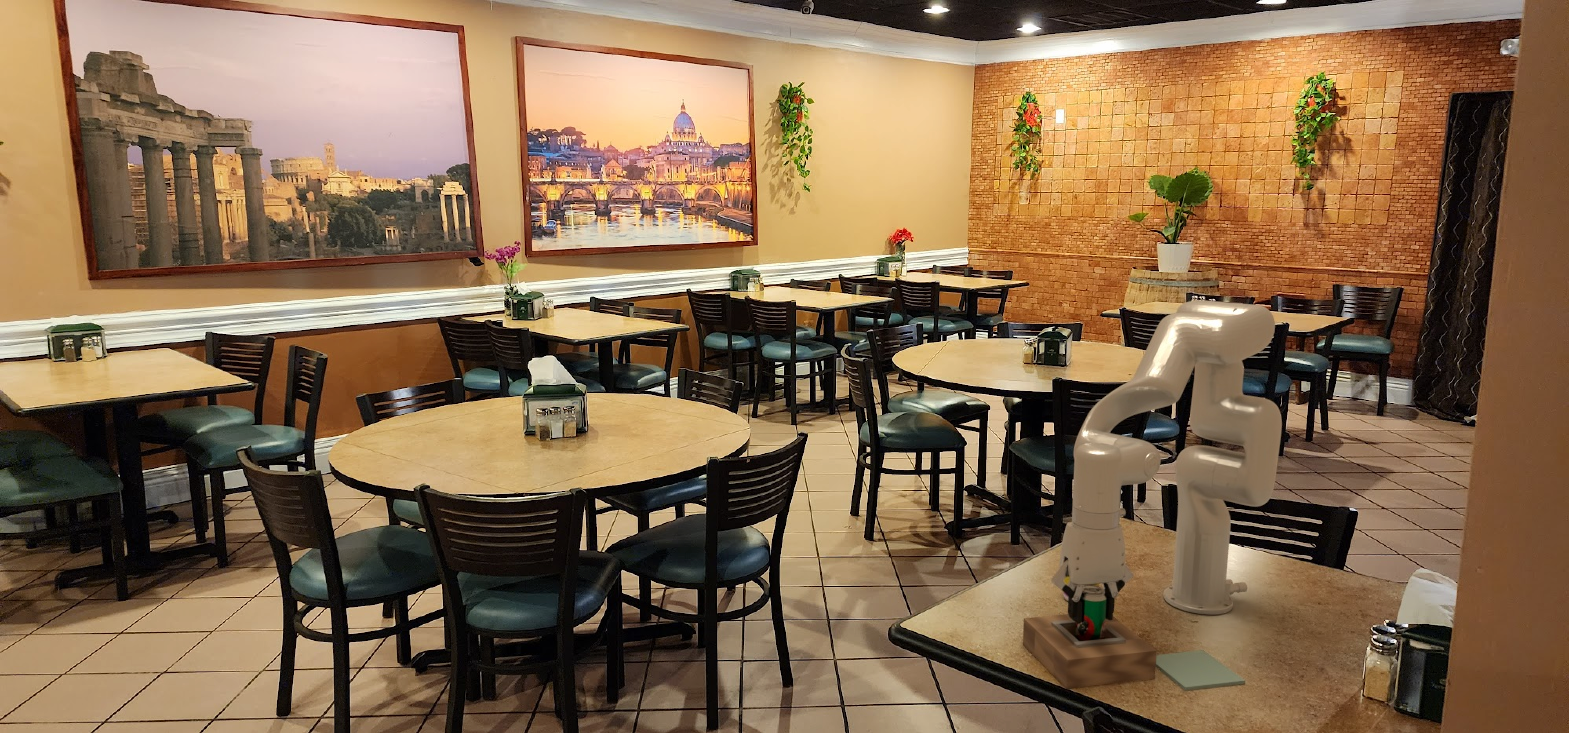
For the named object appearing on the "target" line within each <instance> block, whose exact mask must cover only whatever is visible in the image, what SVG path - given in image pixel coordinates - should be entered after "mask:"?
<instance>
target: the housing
mask: <svg viewBox="0 0 1569 733" xmlns="http://www.w3.org/2000/svg"><path fill="white" fill-rule="evenodd" d="M1074 633H1075V621H1073V620H1072V619H1071V618H1070V617H1069V615H1068V613H1065V614H1055V615H1046V616H1045V615H1044V616H1036V617H1035V616H1034V617H1025V618H1023V631H1022V634H1023V635H1022V645H1023V647H1024V648H1025V649H1026V650H1027V651H1028V652H1030V654H1031V655H1032V656H1033V657H1034V658H1035V659H1037V661H1038V662H1039V663H1040V665H1042V666H1043V667H1044V668H1045V669H1046V670H1047V671H1048V672H1049V673H1050V674H1051V675H1052V676H1053V677H1054V678H1055V679H1056V680H1057V681H1058V682H1059V683H1060V684H1061V685H1062V686H1063V687H1064V688H1065V690H1066V689H1075V688H1084V687H1092V686H1095V687H1096V686H1102V685H1112V684H1119V683H1130V682H1137V681H1139V682H1140V681H1146V680H1147V681H1148V680H1155V679H1156V671H1157V670H1156V657H1157V655H1158V654H1157V653H1158V650H1157V649H1156V648H1154V647H1153V646H1152V645H1150V644H1149V643H1148V642H1146V641H1145V640H1144V639H1143V638H1142V637H1140V636H1139V635H1138V634H1136V633H1135V632H1134V631H1133V630H1131V629H1130V628H1128V627H1127V626H1126V625H1125V624H1124V623H1122V622H1121V621H1120V620H1119V619H1117V618H1115V617H1114V616H1113V619H1112V620H1107V619H1106V635H1105V639H1100V640H1090V641H1080V642H1079V641H1078V640H1077V639H1076V638H1075V637H1074Z"/></svg>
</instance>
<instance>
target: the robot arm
mask: <svg viewBox="0 0 1569 733" xmlns="http://www.w3.org/2000/svg"><path fill="white" fill-rule="evenodd" d="M1274 317H1275V316H1274V315H1273V313H1272V312H1271V311H1270V310H1269V309H1268V308H1267V307H1265V306H1264V305H1259V304H1251V303H1250V304H1249V303H1238V302H1227V301H1216V300H1215V301H1214V300H1189V301H1186V302H1184V303H1182V304H1180V306H1178V308H1177V309H1176V312H1175V313H1171V314H1168V315H1166V316H1165V317H1163V318H1162V319H1161V320H1160V322H1159V323H1158V325H1157V327H1156V328H1155V331H1154V333H1153V335H1152V337H1151V339H1150V342H1149V343H1148V346H1147V347H1146V350H1145V352H1144V353H1143V356H1142V358H1141V360H1140V363H1139V364H1138V366H1137V368H1136V370H1135V373H1134V375H1133V376H1132V378H1131V379H1130V380H1129V381H1127V382H1125V383H1124V384H1122V385H1120V386H1119V387H1117V388H1115V389H1114V390H1112V391H1110V392H1109V393H1108V394H1106V396H1104V397H1102V399H1100V400H1099V401H1098V402H1097V403H1095V405H1094V406H1093V407H1092V408H1091V410H1089V412H1088V413H1087V416H1086V417H1085V420H1084V421H1083V423H1082V425H1081V428H1080V430H1079V432H1078V434H1077V436H1076V440H1075V443H1074V445H1073V446H1074V448H1073V460H1074V463H1073V465H1074V466H1073V484H1072V485H1073V486H1072V488H1073V489H1072V490H1073V491H1072V509H1071V510H1072V513H1071V514H1072V515H1071V521H1069V522H1067V523H1066V526H1065V530H1064V533H1063V537H1062V543H1061V547H1060V548H1061V549H1060V553H1059V554H1060V555H1059V564H1058V565H1059V566H1058V567H1059V568H1058V570H1057V571H1056V572H1055V573H1054V574H1053V576H1052V578H1050V582H1051V583H1052V584H1053V585H1055V586H1056V587H1057V588H1058V589H1060V590H1061V591H1062V592H1064V593H1065V594H1066V595H1067V596H1068V601H1067V614H1068V615H1069V617H1070V618H1071V619H1072V620H1073V621H1075V622H1076V623H1077V624H1080V623H1081V622H1082V606H1083V603H1082V601H1080V596H1081V593H1082V590H1083V587H1084V585H1090V584H1102V588H1103V589H1104V590H1105V594H1106V596H1107V616H1106V619H1107V620H1112V619H1113V617H1114V613H1115V602H1116V601H1115V599H1116V598H1118V596H1119V592H1121V590H1122V589H1123V588H1124V587H1125V585H1126V584H1127V583H1129V581H1130V580H1132V578H1133V577H1134V576H1135V574H1134V572H1132V570H1131V569H1130V567H1129V566H1128V565H1127V564H1126V546H1125V538H1124V537H1125V536H1124V531H1123V526H1122V524H1121V523H1120V522H1121V518H1122V517H1125V516H1126V513H1127V512H1126V509H1125V508H1123V507H1122V508H1121V494H1122V491H1121V490H1122V489H1121V488H1122V486H1127V485H1130V486H1131V485H1139V484H1140V485H1141V484H1144V483H1146V482H1148V481H1150V480H1152V479H1153V478H1154V477H1155V476H1156V475H1157V473H1158V472H1159V470H1160V468H1161V467H1160V466H1161V463H1162V462H1161V454H1160V452H1159V450H1158V449H1157V447H1156V446H1155V445H1154V444H1152V443H1151V442H1149V441H1146V440H1143V439H1139V438H1134V437H1129V436H1125V435H1121V434H1115V433H1111V431H1112V430H1113V429H1114V428H1115V427H1116V426H1117V425H1118V424H1119V423H1121V422H1123V421H1124V420H1125V419H1127V418H1130V417H1132V416H1134V415H1135V416H1136V415H1138V414H1141V413H1146V412H1150V411H1153V410H1157V409H1161V408H1165V407H1169V406H1171V405H1173V404H1176V403H1177V402H1179V400H1180V398H1182V394H1183V392H1184V390H1185V388H1186V385H1187V383H1188V381H1189V379H1190V378H1191V375H1192V373H1193V371H1194V377H1193V378H1194V379H1193V387H1192V395H1191V396H1192V397H1191V405H1190V412H1189V413H1190V415H1189V424H1190V429H1191V431H1192V432H1193V434H1194V435H1196V436H1197V437H1200V438H1203V439H1206V440H1209V441H1215V442H1220V443H1225V444H1231V445H1236V446H1241V447H1243V449H1244V452H1240V451H1234V450H1230V449H1226V448H1221V447H1216V446H1210V445H1201V444H1200V445H1198V444H1197V445H1195V444H1194V445H1190V446H1187V447H1185V448H1184V449H1183V450H1181V451H1180V453H1178V456H1177V457H1176V462H1175V465H1174V466H1175V470H1174V472H1175V479H1176V487H1177V488H1176V489H1177V501H1178V502H1177V504H1178V505H1177V519H1176V535H1175V547H1174V548H1175V549H1174V550H1175V551H1174V562H1173V563H1174V564H1173V576H1172V585H1170V586H1168V587H1166V588H1165V589H1164V590H1163V599H1164V600H1165V602H1166V603H1167V604H1169V605H1171V606H1172V607H1174V608H1176V609H1179V610H1181V611H1185V612H1189V613H1193V614H1199V615H1211V616H1212V615H1213V616H1214V615H1221V614H1227V613H1228V612H1231V610H1233V607H1234V600H1233V599H1232V597H1231V595H1234V593H1237V594H1239V593H1246V592H1247V591H1248V585H1247V583H1246V582H1243V581H1241V582H1240V581H1239V582H1233V580H1232V579H1229V578H1227V574H1228V572H1227V571H1228V563H1229V551H1230V550H1229V548H1230V536H1231V534H1230V533H1231V524H1232V523H1231V522H1232V521H1231V514H1230V512H1229V509H1228V507H1227V505H1226V503H1225V501H1226V502H1231V503H1235V504H1239V505H1244V506H1249V507H1261V506H1263V505H1265V504H1266V503H1268V502H1269V500H1270V499H1271V497H1272V495H1273V492H1274V488H1275V483H1276V478H1277V470H1278V463H1279V462H1278V461H1279V454H1280V445H1281V440H1282V439H1281V437H1282V428H1283V427H1282V426H1283V422H1282V414H1281V411H1280V409H1279V407H1278V405H1277V404H1276V403H1275V402H1274V401H1272V400H1271V399H1268V398H1265V397H1258V396H1253V395H1246V394H1244V392H1243V384H1244V383H1243V382H1244V373H1245V367H1244V362H1243V360H1246V359H1248V358H1249V357H1253V356H1254V355H1256V354H1258V353H1260V352H1262V351H1263V350H1264V349H1266V347H1267V346H1269V344H1271V341H1272V339H1273V338H1274V334H1275V328H1276V323H1275V318H1274ZM1066 577H1070V579H1069V582H1068V585H1066V584H1065V583H1064V579H1065V578H1066Z"/></svg>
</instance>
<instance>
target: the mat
mask: <svg viewBox="0 0 1569 733" xmlns="http://www.w3.org/2000/svg"><path fill="white" fill-rule="evenodd" d="M1156 668H1157V669H1158V670H1159V671H1160V672H1161V673H1162V674H1164V676H1166V677H1167V678H1169V679H1170V680H1171V681H1172V682H1173V683H1175V685H1177V686H1178V687H1180V688H1181V689H1182V690H1183V691H1194V690H1204V689H1212V688H1220V687H1229V686H1230V687H1231V686H1237V685H1246V679H1244V678H1242V677H1241V676H1240V675H1238V674H1237V673H1236V672H1234V671H1233V670H1232V669H1230V668H1229V667H1227V666H1226V665H1225V664H1223V663H1222V662H1221V661H1219V660H1217V659H1216V658H1215V657H1214V656H1212V655H1210V654H1209V653H1208V652H1207V651H1206V650H1204V649H1203V650H1189V651H1183V652H1172V653H1170V652H1169V653H1161V654H1157V657H1156Z"/></svg>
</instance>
